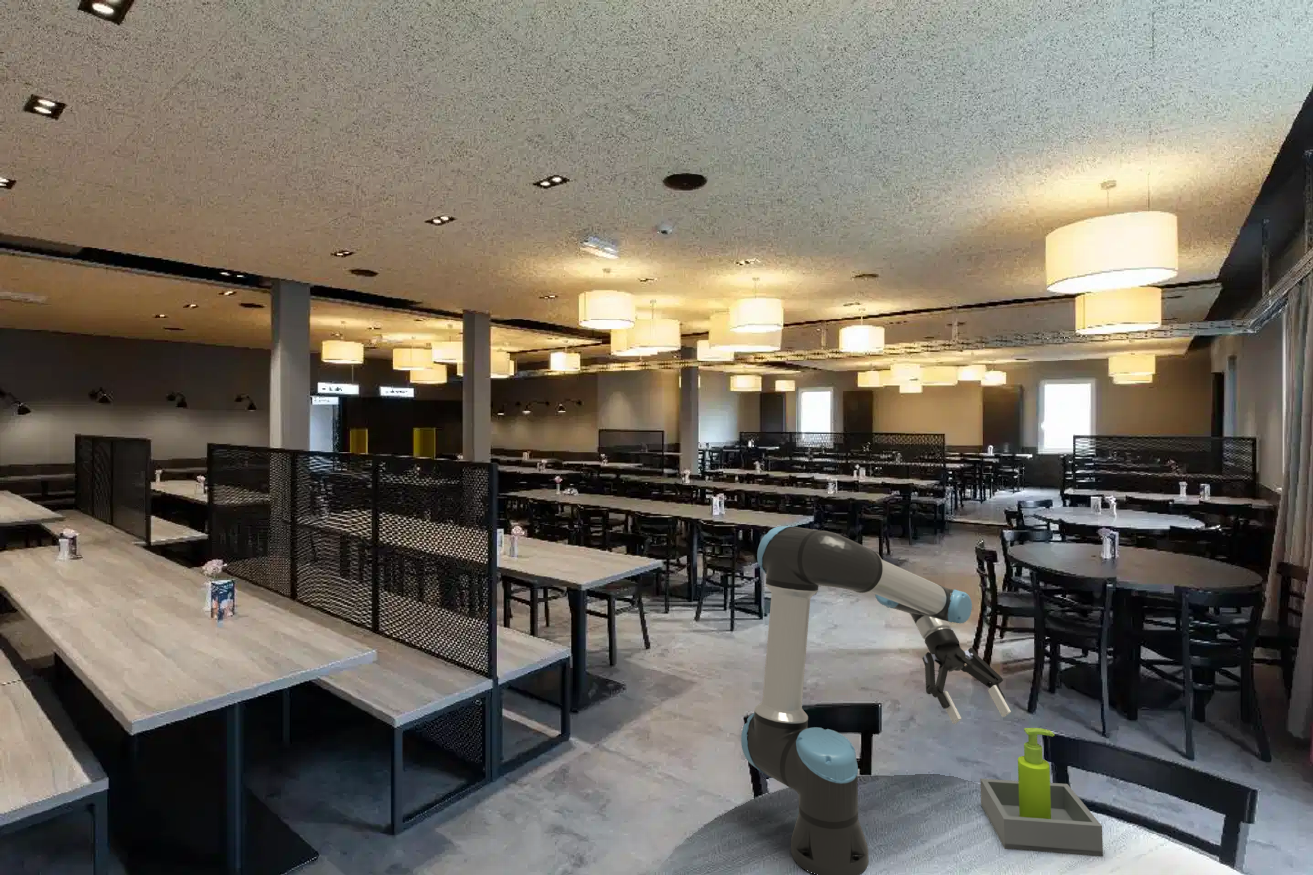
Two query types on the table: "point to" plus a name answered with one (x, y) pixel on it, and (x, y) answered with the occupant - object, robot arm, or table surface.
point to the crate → (1042, 820)
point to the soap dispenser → (1034, 778)
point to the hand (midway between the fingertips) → (982, 717)
